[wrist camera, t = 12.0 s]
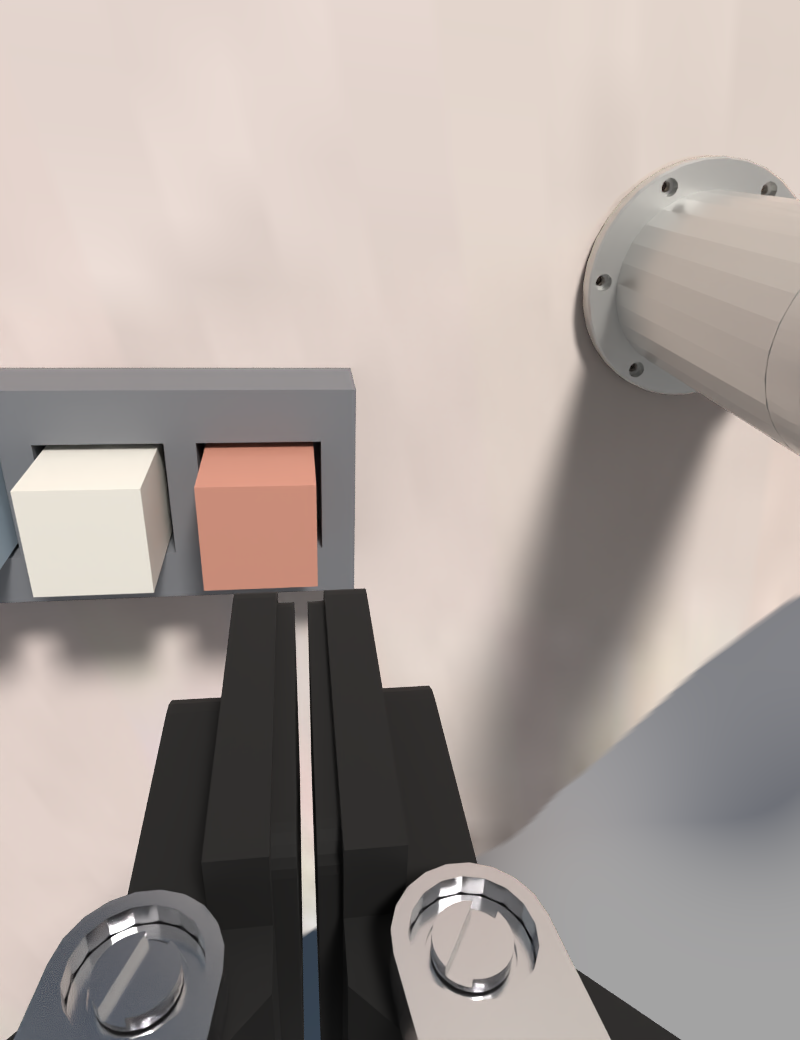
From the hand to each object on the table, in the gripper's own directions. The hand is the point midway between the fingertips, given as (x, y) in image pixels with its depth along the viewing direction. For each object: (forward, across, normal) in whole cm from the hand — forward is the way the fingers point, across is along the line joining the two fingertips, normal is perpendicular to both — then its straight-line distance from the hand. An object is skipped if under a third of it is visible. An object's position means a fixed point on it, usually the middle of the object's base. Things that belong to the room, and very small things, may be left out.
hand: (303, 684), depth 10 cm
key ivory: (+31, +10, +11) cm, 34 cm away
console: (+33, +10, +11) cm, 36 cm away
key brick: (+31, +2, +11) cm, 33 cm away
